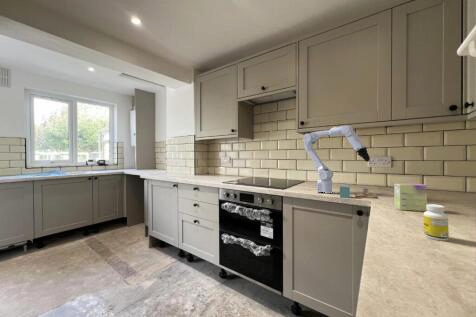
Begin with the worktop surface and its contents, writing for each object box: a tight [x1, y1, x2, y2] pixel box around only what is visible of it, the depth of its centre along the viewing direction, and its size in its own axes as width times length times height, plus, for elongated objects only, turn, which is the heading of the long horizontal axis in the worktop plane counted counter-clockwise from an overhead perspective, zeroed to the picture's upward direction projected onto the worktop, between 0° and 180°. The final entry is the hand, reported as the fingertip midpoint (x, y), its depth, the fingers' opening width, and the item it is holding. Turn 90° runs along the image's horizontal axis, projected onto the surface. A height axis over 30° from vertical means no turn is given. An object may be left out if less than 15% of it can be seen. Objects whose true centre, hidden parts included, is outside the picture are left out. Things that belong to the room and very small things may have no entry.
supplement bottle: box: [423, 203, 450, 242], centre depth 62 cm, size 5×5×10 cm
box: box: [393, 182, 428, 212], centre depth 94 cm, size 10×6×12 cm, turn 74°
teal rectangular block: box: [339, 185, 351, 199], centre depth 125 cm, size 5×5×7 cm
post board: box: [354, 187, 378, 200], centre depth 126 cm, size 11×11×5 cm
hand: (368, 160), depth 122 cm, fingers open, 7 cm apart
